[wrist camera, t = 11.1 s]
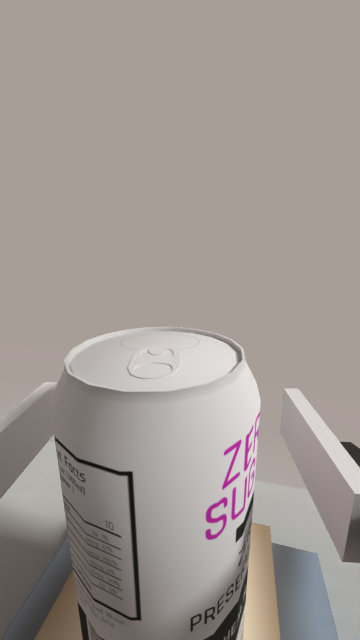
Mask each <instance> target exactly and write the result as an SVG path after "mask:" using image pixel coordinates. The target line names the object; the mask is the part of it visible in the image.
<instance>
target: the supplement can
mask: <svg viewBox="0 0 360 640" xmlns="http://www.w3.org/2000/svg"><path fill="white" fill-rule="evenodd" d="M64 367H65V369H64V371H63V373H62V376H61V378H60V380H59V382H58V384H57V387H56V389H55V391H54V393H53V396H52V398H51V400H50V407H51V415H52V422H53V429H54V436H55V443H56V451H57V458H58V465H59V472H60V480H61V487H62V494H63V501H64V508H65V516H66V523H67V530H68V537H69V545H70V552H71V559H72V566H73V574H74V581H75V588H76V595H77V602H78V610H79V617H80V624H81V631H82V639H83V640H243V631H244V617H245V604H246V590H247V577H248V563H249V550H250V537H251V523H252V510H253V496H254V483H255V468H256V456H257V442H258V428H259V415H260V402H261V401H260V396H259V393H258V388H257V384H256V381H255V379H254V377H253V375H252V373H251V371H250V369H249V367H248V365H247V363H246V361H245V356H244V350H243V348H242V347H241V346H240V345H238V344H237V343H236V342H234V341H233V340H232V339H230V338H227V337H224V336H221V335H219V334H217V333H213V332H208V331H203V330H199V329H191V328H179V327H148V328H138V329H128V330H124V331H118V332H113V333H108V334H105V335H101V336H98V337H96V338H92V339H90V340H87V341H85V342H83V343H82V344H80V345H78V346H76V347H75V348H73V349H72V350H71V351H70V352H69V354H68V355H67V357H66V358H65V360H64Z"/></svg>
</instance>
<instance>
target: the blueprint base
mask: <svg viewBox="0 0 360 640" xmlns="http://www.w3.org/2000/svg"><path fill="white" fill-rule="evenodd" d="M1 640H83V639H82V631H81V624H80V617H79V610H78V602H77V595H76V588H75V581H74V574H73V566H72V559H71V552H70V545H69V537H68V536H67V538H66V539H65V541H64V542H63V544H62V545H61V547H60V549H59V550H58V552H57V553H56V555H55V556H54V558H53V559H52V561H51V563H50V564H49V566H48V567H47V569H46V570H45V572H44V574H43V575H42V577H41V578H40V580H39V581H38V583H37V584H36V586H35V588H34V589H33V591H32V592H31V594H30V595H29V597H28V598H27V600H26V602H25V603H24V605H23V606H22V608H21V609H20V611H19V612H18V614H17V616H16V617H15V619H14V620H13V622H12V623H11V625H10V627H9V628H8V630H7V631H6V633H5V634H4V636H3V637H2V639H1ZM243 640H338V636H337V632H336V628H335V623H334V619H333V615H332V611H331V607H330V603H329V599H328V595H327V591H326V587H325V583H324V579H323V575H322V571H321V567H320V563H319V559H318V555H317V554H316V553H312V552H308V551H304V550H300V549H295V548H291V547H287V546H283V545H279V544H275V543H271V534H270V526H265V525H261V524H256V523H251V537H250V550H249V563H248V577H247V590H246V604H245V617H244V631H243Z"/></svg>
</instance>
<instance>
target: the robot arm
mask: <svg viewBox="0 0 360 640" xmlns="http://www.w3.org/2000/svg"><path fill="white" fill-rule="evenodd" d="M57 384H58V383H57V382H45V383H43V384H42V385H41V386H40V387H38V388H37V389H36V390H35V391H33V392H32V393H31V394H30V395H28V396H27V397H26V398H25V399H24V400H22V401H21V402H20V403H18V404H17V405H16V406H15V407H13V408H12V409H11V410H10V411H8V412H7V413H6V414H5V415H3V416H2V417H1V418H0V499H1V497H2V496H3V495H4V494H5V493H6V491H7V490H8V489H9V488H10V487H11V485H12V484H13V483H14V482H15V481H16V479H17V478H18V477H19V476H20V474H21V473H22V472H23V471H24V470H25V468H26V467H27V466H28V465H29V464H30V462H31V461H32V460H33V459H34V458H35V456H36V455H37V454H38V453H39V451H40V450H41V449H42V448H43V447H44V445H45V444H46V443H47V442H48V441H49V439H50V438H51V437H52V436H53V435H54V429H53V422H52V415H51V407H50V400H51V398H52V396H53V393H54V391H55V389H56V387H57ZM280 433H281V435H282V437H283V439H284V441H285V443H286V445H287V447H288V449H289V451H290V453H291V456H292V458H293V460H294V462H295V464H296V466H297V468H298V470H299V472H300V474H301V476H302V478H303V480H304V482H305V485H306V487H307V489H308V491H309V493H310V495H311V497H312V499H313V501H314V503H315V506H316V508H317V510H318V512H319V514H320V516H321V518H322V520H323V522H324V524H325V526H326V528H327V531H328V533H329V535H330V537H331V539H332V541H333V543H334V545H335V547H336V549H337V551H338V553H339V556H340V558H341V560H342V562H353V563H360V449H359V448H358V447H357V446H355V445H354V444H352V443H351V442H339V441H338V439H337V438H336V437H335V435H334V434H333V433H332V432H331V430H330V429H329V428H328V426H327V425H326V424H325V423H324V421H323V420H322V419H321V418H320V416H319V415H318V414H317V412H316V411H315V410H314V409H313V407H312V406H311V405H310V403H309V402H308V401H307V400H306V398H305V397H304V396H303V394H302V393H301V392H300V391H299V389H287V388H286V389H284V395H283V405H282V415H281V427H280Z"/></svg>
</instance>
